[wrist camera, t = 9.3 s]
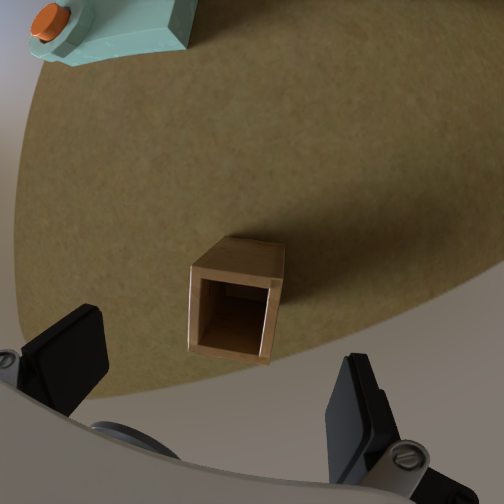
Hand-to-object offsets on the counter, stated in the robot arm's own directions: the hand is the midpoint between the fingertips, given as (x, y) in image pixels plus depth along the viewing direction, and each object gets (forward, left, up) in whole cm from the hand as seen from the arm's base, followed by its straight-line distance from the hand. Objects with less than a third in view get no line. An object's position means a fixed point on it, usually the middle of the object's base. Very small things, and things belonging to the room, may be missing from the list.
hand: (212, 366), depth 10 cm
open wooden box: (0, 0, -13) cm, 13 cm away
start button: (+19, +17, -7) cm, 26 cm away
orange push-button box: (+23, +13, -13) cm, 29 cm away
